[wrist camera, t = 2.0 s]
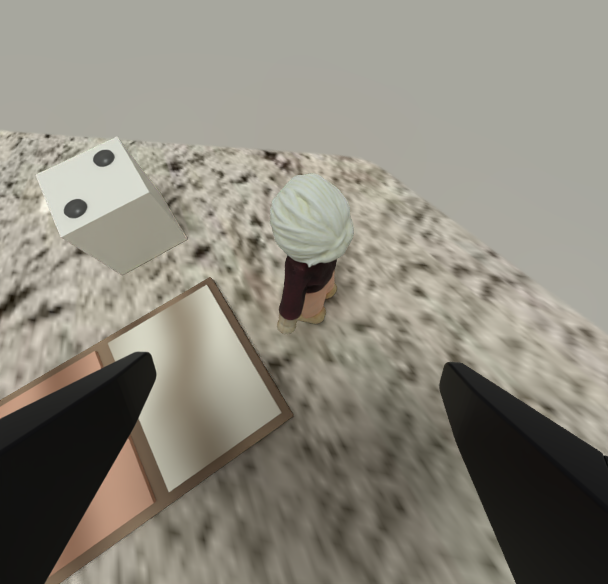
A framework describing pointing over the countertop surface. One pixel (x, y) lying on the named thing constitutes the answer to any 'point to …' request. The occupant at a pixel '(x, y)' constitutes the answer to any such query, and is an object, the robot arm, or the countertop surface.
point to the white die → (110, 207)
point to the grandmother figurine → (309, 245)
